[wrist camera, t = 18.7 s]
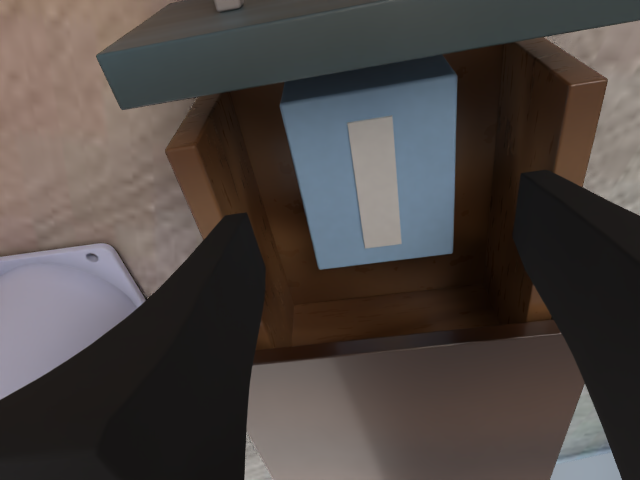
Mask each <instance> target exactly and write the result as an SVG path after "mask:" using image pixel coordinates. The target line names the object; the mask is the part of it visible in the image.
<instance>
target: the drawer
mask: <svg viewBox="0 0 640 480" xmlns="http://www.w3.org/2000/svg"><path fill="white" fill-rule="evenodd" d="M638 20H640V0H185V1H180V2H175V3H170V4H169V5H167V6H166V7H164V8H163V9H161V10H160V11H159V12H157V13H156V14H154V15H153V16H151V17H150V18H149V19H147V20H146V21H144V22H143V23H141V24H140V25H139V26H137V27H136V28H134V29H133V30H131V31H130V32H129V33H127V34H126V35H124V36H123V37H121V38H120V39H119V40H117V41H116V42H114V43H113V44H112V45H110V46H109V47H107V48H106V49H104V50H103V51H102V52H100V53H99V54H97V55H96V57H97V60H98V62H99V64H100V66H101V68H102V70H103V72H104V74H105V77H106V79H107V81H108V83H109V85H110V87H111V89H112V91H113V94H114V96H115V98H116V100H117V102H118V104H119V106H120V108H121V109H122V110H126V109H132V108H138V107H143V106H149V105H155V104H161V103H166V102H172V101H178V100H184V99H189V98H195V97H198V98H197V100H196V101H195V103H194V104H193V106H192V108H191V109H190V111H189V112H188V114H187V116H186V117H185V119H184V120H183V122H182V124H181V125H180V127H179V128H178V130H177V132H176V133H175V135H174V136H173V138H172V140H171V141H170V143H169V144H168V146H167V148H166V149H165V153H166V155H167V158H168V160H169V162H170V164H171V167H172V169H173V171H174V174H175V176H176V178H177V180H178V183H179V185H180V187H181V190H182V192H183V194H184V197H185V199H186V201H187V203H188V206H189V208H190V210H191V213H192V215H193V217H194V219H195V222H196V224H197V226H198V229H199V231H200V233H201V236H202V238H203V240H204V239H205V238H206V237H207V236H208V234H209V233H210V232H211V231H212V230H213V228H214V227H215V226H216V225H217V224H218V223H219V222H220V220H221V219H222V218H223V217H224V216H225V215H231V214H238V213H245V212H247V214H248V217H249V220H250V223H251V226H252V229H253V232H254V235H255V238H256V241H257V244H258V247H259V250H260V252H261V255H262V258H263V261H264V264H265V267H266V278H265V300H264V306H263V312H262V317H261V323H260V328H259V334H258V339H257V344H256V350H261V349H271V348H281V347H290V346H300V345H310V344H320V343H329V342H339V341H349V340H358V339H368V338H378V337H387V336H397V335H407V334H417V333H426V332H436V331H446V330H455V329H465V328H475V327H484V326H494V325H504V324H514V323H523V322H533V321H543V320H551V317H552V316H551V314H550V313H549V311H548V309H547V307H546V306H545V304H544V302H543V301H542V299H541V297H540V295H539V294H538V292H537V290H536V288H535V286H534V285H533V283H532V281H531V279H530V278H529V276H528V274H527V272H526V270H525V268H524V266H523V263H522V261H521V258H520V256H519V253H518V251H517V248H516V245H515V242H514V240H513V237H512V236H513V228H514V221H515V213H516V206H517V198H518V190H519V183H520V175H521V173H526V172H533V171H540V170H548V171H551V172H553V173H555V174H557V175H559V176H561V177H563V178H565V179H567V180H569V181H571V182H573V183H575V184H577V185H579V186H581V187H583V183H584V178H585V174H586V170H587V166H588V162H589V158H590V153H591V149H592V145H593V141H594V137H595V132H596V128H597V124H598V120H599V116H600V111H601V107H602V103H603V99H604V95H605V91H606V86H607V82H608V80H607V78H605V77H604V76H602V75H601V74H599V73H598V72H596V71H595V70H593V69H591V68H590V67H588V66H587V65H585V64H584V63H582V62H581V61H579V60H578V59H576V58H575V57H573V56H571V55H570V54H568V53H567V52H565V51H564V50H562V49H561V48H559V47H558V46H556V45H554V44H553V43H551V42H550V41H548V40H547V39H545V38H544V37H546V36H552V35H558V34H564V33H569V32H575V31H581V30H587V29H592V28H598V27H604V26H610V25H615V24H621V23H627V22H633V21H638ZM437 55H443V56H444V58H445V59H446V61H447V62H448V63H449V65H450V66H451V67H452V69H453V70H454V71H455V73H456V74H457V76H458V77H457V118H456V158H455V199H454V240H453V253H451V254H445V255H437V256H429V257H421V258H413V259H404V260H396V261H388V262H380V263H372V264H364V265H355V266H347V267H339V268H331V269H323V270H320V269H319V268H318V266H317V262H316V257H315V253H314V249H313V245H312V241H311V236H310V232H309V228H308V224H307V220H306V215H305V211H304V207H303V203H302V198H301V194H300V190H299V186H298V182H297V177H296V173H295V169H294V165H293V160H292V156H291V152H290V148H289V144H288V139H287V135H286V131H285V127H284V123H283V118H282V114H281V110H280V102H281V97H282V92H283V88H284V83H285V82H287V81H293V80H299V79H305V78H310V77H316V76H322V75H328V74H333V73H339V72H345V71H351V70H356V69H362V68H368V67H374V66H379V65H385V64H391V63H397V62H402V61H408V60H414V59H420V58H425V57H431V56H437Z"/></svg>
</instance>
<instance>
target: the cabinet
mask: <svg viewBox="0 0 640 480" xmlns="http://www.w3.org/2000/svg"><path fill="white" fill-rule="evenodd" d="M584 384H585V382H584V380H583V378H582V375H581V373H580V371H579V368H578V366H577V364H576V361H575V359H574V357H573V354H572V353H571V351H570V349H569V347H568V345H567V343H566V341H565V339H564V337H563V335H562V334H561V332H560V330H559V328H558V327H557V325H556V323H555V321H554V320H553V318H552V317H551V320H543V321H533V322H523V323H514V324H504V325H494V326H484V327H475V328H465V329H455V330H446V331H436V332H426V333H417V334H407V335H397V336H387V337H378V338H368V339H358V340H349V341H339V342H329V343H320V344H310V345H300V346H290V347H281V348H271V349H261V350H255V355H254V361H253V366H252V372H251V379H250V387H249V400H248V414H247V430H246V431H247V433H248V435H249V437H250V439H251V441H252V442H253V444H254V446H255V448H256V450H257V451H258V453H259V455H260V457H261V459H262V461H263V462H264V464H265V466H266V468H267V470H268V471H269V473H270V475H271V477H272V479H273V480H550V478H551V475H552V472H553V469H554V467H555V464H556V461H557V459H558V456H559V453H560V450H561V447H562V445H563V442H564V439H565V436H566V434H567V431H568V428H569V425H570V423H571V420H572V417H573V414H574V412H575V409H576V406H577V403H578V400H579V398H580V395H581V392H582V389H583V387H584Z"/></svg>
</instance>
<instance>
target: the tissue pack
mask: <svg viewBox="0 0 640 480" xmlns="http://www.w3.org/2000/svg"><path fill="white" fill-rule="evenodd" d="M457 77H458V76H457V74H456V73H455V71H454V70H453V69H452V67H451V66H450V65H449V63H448V62H447V61H446V59H445V58H444V56H443V55H437V56H431V57H425V58H420V59H414V60H408V61H402V62H397V63H391V64H385V65H379V66H374V67H368V68H362V69H356V70H351V71H345V72H339V73H333V74H328V75H322V76H316V77H310V78H305V79H299V80H293V81H287V82H285V83H284V88H283V92H282V97H281V102H280V110H281V114H282V118H283V123H284V127H285V131H286V135H287V139H288V144H289V148H290V152H291V156H292V160H293V165H294V169H295V173H296V177H297V182H298V186H299V190H300V194H301V198H302V203H303V207H304V211H305V215H306V220H307V224H308V228H309V232H310V236H311V241H312V245H313V249H314V253H315V257H316V262H317V266H318V268H319V269H320V270H323V269H331V268H339V267H347V266H355V265H364V264H372V263H380V262H388V261H396V260H404V259H413V258H421V257H429V256H437V255H445V254H451V253H453V240H454V199H455V158H456V118H457Z"/></svg>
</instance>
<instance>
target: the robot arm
mask: <svg viewBox="0 0 640 480" xmlns="http://www.w3.org/2000/svg"><path fill="white" fill-rule="evenodd" d="M512 237H513V240H514V242H515V245H516V248H517V251H518V253H519V256H520V258H521V261H522V263H523V266H524V268H525V270H526V272H527V274H528V276H529V278H530V279H531V281H532V283H533V285H534V286H535V288H536V290H537V292H538V294H539V295H540V297H541V299H542V301H543V302H544V304H545V306H546V307H547V309H548V311H549V313H550V314H551V316H552V318H553V320H554V321H555V323H556V325H557V327H558V328H559V330H560V332H561V334H562V335H563V337H564V339H565V341H566V343H567V345H568V347H569V349H570V351H571V353H572V354H573V357H574V359H575V361H576V364H577V366H578V368H579V371H580V373H581V375H582V378H583V380H584V382H585V385H586V387H587V389H588V392H589V394H590V397H591V399H592V402H593V404H594V407H595V409H596V412H597V414H598V416H599V419H600V421H601V424H602V426H603V429H604V432H605V434H606V437H607V440H608V443H609V445H610V448H611V451H612V453H613V456H614V459H615V462H616V464H617V467H618V469H619V472H620V475H621V478H622V480H640V216H639V215H637V214H635V213H633V212H630V211H628V210H626V209H624V208H622V207H620V206H618V205H616V204H614V203H612V202H610V201H608V200H606V199H604V198H602V197H600V196H598V195H596V194H594V193H592V192H590V191H588V190H587V189H585V188H583V187H581V186H579V185H577V184H575V183H573V182H571V181H569V180H567V179H565V178H563V177H561V176H559V175H557V174H555V173H553V172H551V171H548V170H540V171H533V172H526V173H521V175H520V183H519V190H518V198H517V206H516V213H515V221H514V228H513V236H512ZM91 253H92V254H95V255H96V256H94V255H92V254H91ZM265 278H266V267H265V264H264V261H263V258H262V255H261V252H260V250H259V247H258V244H257V241H256V238H255V235H254V232H253V229H252V226H251V223H250V220H249V217H248V214H247V212H245V213H238V214H231V215H225V216H224V217H223V218H222V219H221V220H220V222H219V223H218V224H217V225H216V226H215V227H214V228H213V230H212V231H211V232H210V233H209V234H208V236H207V237H206V238H205V239H204V240H203V241H202V243H201V244H200V245H199V246H198V247H197V248H196V249H195V251H194V252H193V253H192V254H191V255H190V256H189V257H188V259H187V260H186V261H185V262H184V263H183V264H182V265H181V266H180V267H179V268H178V269H177V270H176V271H175V272H174V273H173V274H172V275H171V277H170V278H169V279H168V280H167V281H166V282H165V283H164V284H163V285H162V286H161V287H160V288H159V289H158V290H157V291H156V292H155V293H154V294H153V295H151V296H150V297H149V298H148V299H147V300H146V299H145V298H144V296H143V294H142V293H141V291H140V290H139V288H138V286H137V285H136V283H135V281H134V280H133V278H132V276H131V275H130V273H129V271H128V270H127V268H126V267H125V265H124V263H123V262H122V260H121V258H120V257H119V255H118V253H117V252H116V250H115V249H114V248H113V247H112V246H110V245H109V244H106V243H97V244H90V245H83V246H75V247H68V248H61V249H54V250H46V251H39V252H32V253H24V254H17V255H10V256H3V257H0V480H244V474H245V448H246V430H247V414H248V400H249V387H250V379H251V372H252V366H253V361H254V355H255V350H256V344H257V339H258V334H259V328H260V323H261V317H262V312H263V306H264V300H265Z"/></svg>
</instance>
